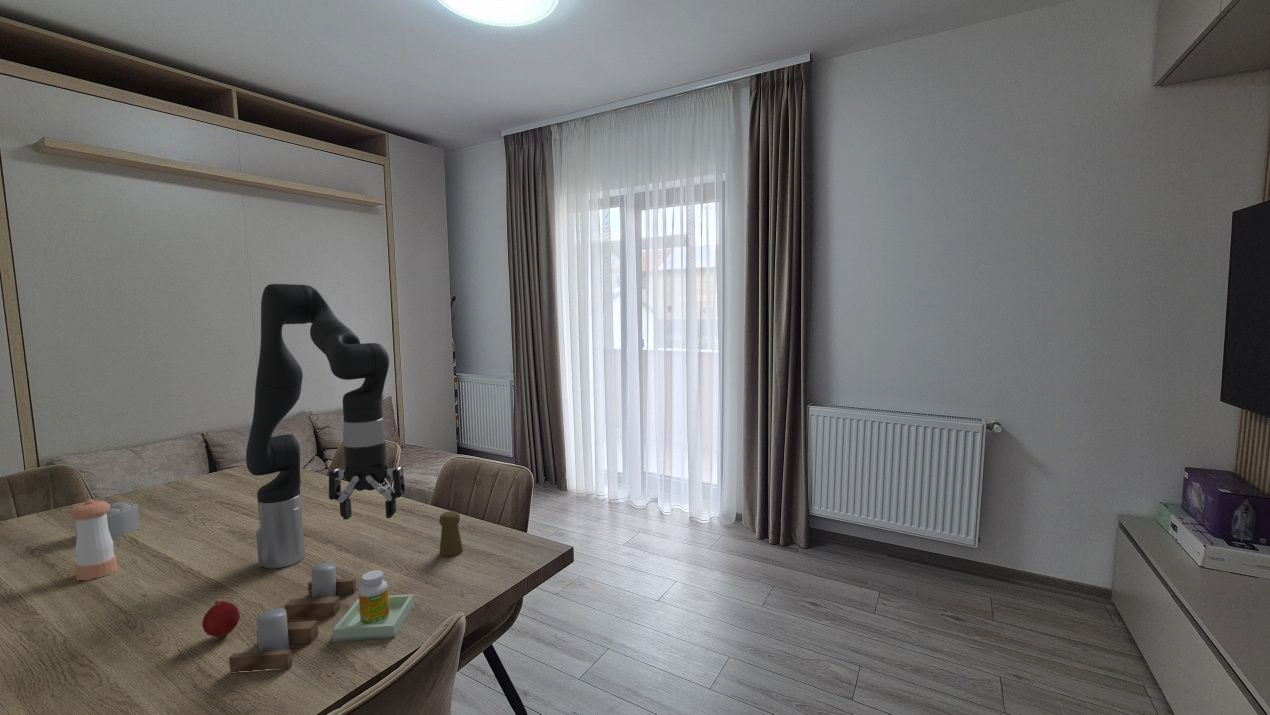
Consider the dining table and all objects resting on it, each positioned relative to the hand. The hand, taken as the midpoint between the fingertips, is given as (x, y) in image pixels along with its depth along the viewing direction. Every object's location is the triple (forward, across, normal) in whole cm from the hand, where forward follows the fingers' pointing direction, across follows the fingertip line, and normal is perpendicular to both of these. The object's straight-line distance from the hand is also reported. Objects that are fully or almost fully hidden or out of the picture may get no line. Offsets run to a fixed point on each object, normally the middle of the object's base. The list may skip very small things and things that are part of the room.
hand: (368, 517), depth 107 cm
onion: (+23, -28, -3) cm, 36 cm away
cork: (+23, +8, +30) cm, 38 cm away
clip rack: (+22, -14, -1) cm, 26 cm away
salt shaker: (+23, -79, +27) cm, 87 cm away
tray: (+22, +1, -1) cm, 22 cm away
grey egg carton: (+24, -99, +53) cm, 115 cm away
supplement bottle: (+22, +1, -1) cm, 22 cm away
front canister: (+22, -14, -10) cm, 28 cm away
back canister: (+22, -14, +8) cm, 28 cm away
